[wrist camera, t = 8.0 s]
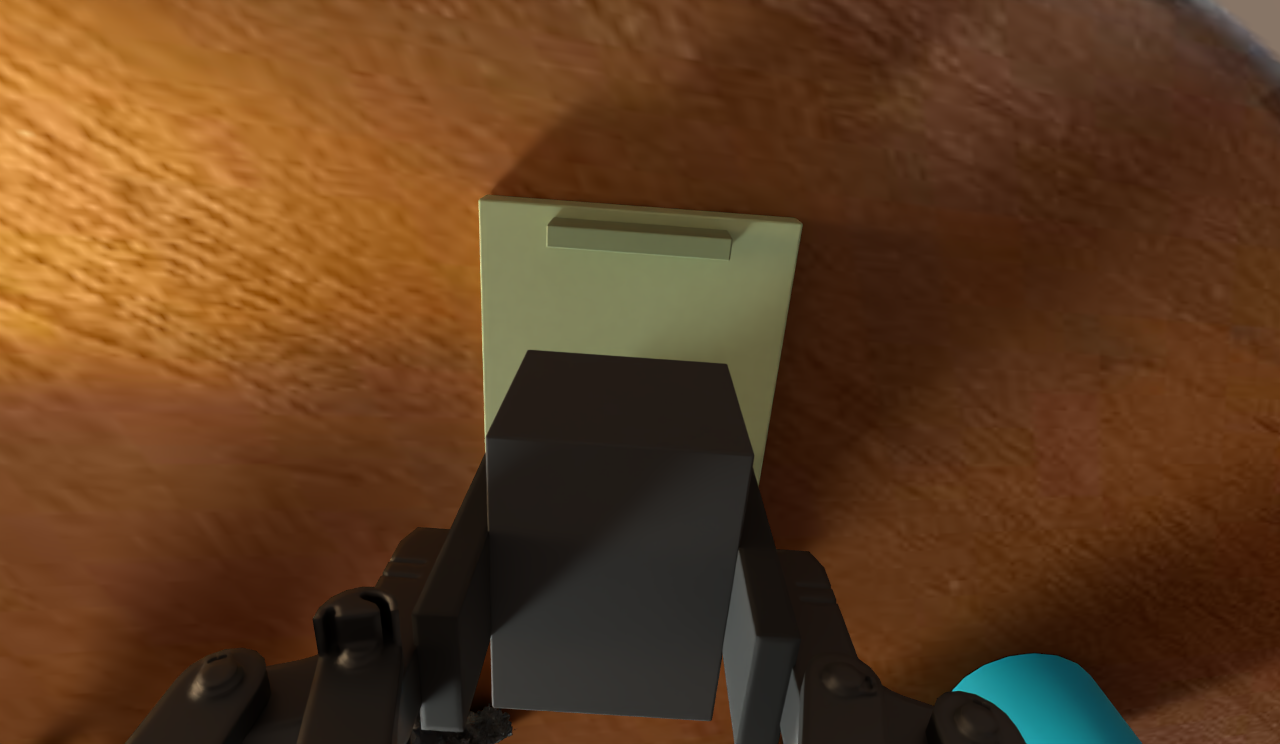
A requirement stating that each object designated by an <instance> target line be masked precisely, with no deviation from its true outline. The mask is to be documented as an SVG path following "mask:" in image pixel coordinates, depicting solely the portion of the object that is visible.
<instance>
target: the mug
mask: <svg viewBox="0 0 1280 744" xmlns="http://www.w3.org/2000/svg"><path fill="white" fill-rule="evenodd" d="M952 691H963V692H968V693H972V694H976V695H978V696H980V697H982V698H984V699H986V700H988V701H990V702H992V703H993V704H995V705H996V706H997V707H998V708H1000V709H1001V710H1002V711H1003V712H1005V713H1006V714H1007V715H1008V716H1009V718H1010V719H1011V720H1012V722H1013V723H1014V724H1015V725H1016V727H1017V728H1018V730H1019V732H1020V733H1021V735H1022V737H1023V739H1024V740H1025V742H1026V744H1142V742H1141V741H1140V740H1139V739H1138V737H1137V736H1136V735H1135V733H1134V732H1133V731H1132V729H1131V728H1130V727H1129V725H1128V724H1127V723H1126V721H1125V720H1124V719H1123V717H1122V716H1121V715H1120V714H1119V712H1118V711H1117V710H1116V708H1115V707H1114V706H1113V704H1112V703H1111V702H1110V700H1109V699H1108V698H1107V696H1106V695H1105V694H1104V692H1103V691H1102V690H1101V689H1100V687H1099V686H1098V685H1097V683H1096V682H1095V681H1094V679H1093V678H1092V677H1091V676H1090V675H1089V674H1088V673H1087V672H1086V671H1085V670H1084V669H1083V668H1082V667H1081V666H1080V665H1078V664H1077V663H1075V662H1072V661H1070V660H1067V659H1065V658H1062V657H1060V656H1056V655H1046V654H1036V653H1032V654H1024V655H1016V656H1008V657H1005V658H1003V659H1000V660H997V661H994V662H991V663H989V664H986V665H983V666H982V667H980V668H979V669H977V670H976V671H974V672H973V673H971V674H969V675H968V676H966V677H965V678H963V680H962V681H961V682H960V683H959V684H958V685H957V686H956V687H955V688H954V689H953V690H952Z"/></svg>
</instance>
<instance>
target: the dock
mask: <svg viewBox="0 0 1280 744" xmlns="http://www.w3.org/2000/svg"><path fill="white" fill-rule="evenodd" d="M802 226H803V224H802V223H801V222H800V221H799V220H798V219H796V218H791V217H778V216H764V215H751V214H738V213H724V212H711V211H698V210H684V209H671V208H658V207H644V206H631V205H618V204H604V203H591V202H578V201H564V200H551V199H538V198H524V197H511V196H498V195H486V196H484V197H482V198H481V199H479V233H480V270H481V308H482V346H483V383H484V421H485V437H486V435H487V433H488V431H489V429H490V426H491V424H492V422H493V420H494V418H495V416H496V414H497V412H498V410H499V408H500V406H501V404H502V402H503V400H504V398H505V395H506V393H507V391H508V389H509V387H510V385H511V383H512V381H513V379H514V377H515V375H516V373H517V371H518V369H519V367H520V365H521V362H522V360H523V358H524V356H525V354H526V352H527V350H541V351H555V352H569V353H583V354H597V355H611V356H625V357H639V358H654V359H668V360H682V361H696V362H710V363H724V364H727V365H728V368H729V371H730V375H731V378H732V381H733V385H734V388H735V391H736V395H737V398H738V402H739V405H740V408H741V412H742V415H743V418H744V422H745V425H746V428H747V432H748V435H749V439H750V442H751V445H752V449H753V452H754V455H755V456H754V462H753V469H754V473H755V476H756V480H757V483H758V487H759V481H760V475H761V469H762V463H763V457H764V451H765V445H766V440H767V434H768V428H769V422H770V416H771V410H772V404H773V398H774V392H775V386H776V380H777V374H778V368H779V363H780V357H781V351H782V345H783V339H784V333H785V327H786V321H787V315H788V309H789V303H790V297H791V291H792V285H793V280H794V274H795V268H796V262H797V256H798V250H799V244H800V238H801V232H802ZM485 453H486V442H485Z"/></svg>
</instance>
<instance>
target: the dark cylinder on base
mask: <svg viewBox="0 0 1280 744" xmlns="http://www.w3.org/2000/svg"><path fill="white" fill-rule="evenodd" d="M474 716H475V717H474ZM476 716H477V717H476ZM509 717H510V715H509V714H508V713H507V712H506V713H504V714H503V713H502V711H501V708H499V709H498V710H497V709H496V708H493V707H492V708H491V707H490V703H489V706H488V707H487V706H485V707H484V709H483V711H478V712H477V713H474V714H473V712H471V711H469V714H468V718H467V721H466V724H465V727H464V731H463V732H449V731H433V730H421V720H420V711H419V713H418V716H417V719H416V721H415V724H414V727H413V729H412V732H411V743H412V744H495V743H498V742H500V740H501V741H502V740H503V739H504V738H507V736H508V737H509V736H511V735H513V734H511V733H512V728H513V727H511V722H510V721H508V720H509ZM469 719H471V720H469ZM470 721H471V722H470ZM472 721H474V722H472ZM471 723H472V724H473V723H474V724H473V725H472V724H471ZM470 724H471V725H470ZM514 730H516V729H514Z"/></svg>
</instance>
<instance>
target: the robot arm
mask: <svg viewBox="0 0 1280 744" xmlns="http://www.w3.org/2000/svg"><path fill="white" fill-rule="evenodd" d="M313 625H314V631H315V637H316V643H317V649H318V654H317V655H315V656H313V657H309V658H305V659H302V660H297V661H292V662H287V663H282V664H276V665H271V666H266V664H265V659H264V658H263V657H262V656H261V655H260V654H259V653H258V652H257V651H255V650H250V649H246V648H234V649H225V650H222V651H219V652H216V653H213V654H210V655H207V656H205V657H204V658H202V659H200V660H199V661H197V662H195V663H193V664H192V665H190V666H189V667H188V668H187V669H186V670H185V671H184V672H183V673H182V674H181V675H180V676H179V677H178V678H177V679H176V680H175V681H174V682H173V684H172V685H171V686H170V687H169V689H168V690H167V691H166V692H165V694H164V695H163V696H162V697H161V699H160V700H159V701H158V702H157V704H156V705H155V706H154V707H153V709H152V710H151V711H150V713H149V714H148V715H147V716H146V718H145V719H144V720H143V721H142V723H141V724H140V725H139V726H138V728H137V729H136V730H135V731H134V733H133V734H132V735H131V736H130V738H129V739H128V740H127V741H126V743H125V744H412V743H411V732H412V729H413V727H414V724H415V721H416V719H417V716H418V713H419V711H420V720H421V730H433V731H449V732H463V731H464V727H465V724H466V721H467V717H468V714H469V710H470V707H471V703H472V700H473V697H474V693H475V690H476V686H477V683H478V680H479V676H480V673H481V669H482V666H483V662H484V659H485V656H486V652H487V649H488V645H489V642H490V638H491V602H490V561H489V531H488V522H487V482H486V453H485V455H484V457H483V459H482V461H481V463H480V466H479V468H478V470H477V472H476V474H475V476H474V479H473V481H472V483H471V485H470V487H469V490H468V492H467V494H466V496H465V498H464V500H463V503H462V505H461V507H460V509H459V511H458V513H457V516H456V518H455V520H454V522H453V524H452V527H451V529H437V528H422V527H418V528H416V529H415V530H414V531H413V532H411V533H410V534H409V535H408V536H406V537H405V538H404V539H403V540H401V541H400V543H399V544H398V546H397V548H396V550H395V552H394V553H393V555H392V557H391V560H390V562H388V564H387V566H386V568H385V569H384V571H383V575H382V576H381V577H380V578H379V580H378V582H377V584H376V586H375V587H359V588H354V589H350V590H346V591H344V592H342V593H340V594H337V595H335V596H333V597H331V598H330V599H329V600H328V601H326V602H325V603H324V604H323V605H322V606H321V607H319V609H318V611H317V612H316V614H315V616H314V618H313ZM722 652H723V660H724V667H725V675H726V682H727V690H728V698H729V705H730V713H731V720H732V728H733V735H734V743H735V744H778V742H779V737H780V733H781V734H782V739H783V743H784V744H1026V742H1025V740H1024V739H1023V737H1022V735H1021V733H1020V732H1019V730H1018V728H1017V727H1016V725H1015V724H1014V723H1013V722H1012V720H1011V719H1010V718H1009V716H1008V715H1007V714H1006V713H1005V712H1003V711H1002V710H1001V709H1000V708H998V707H997V706H996V705H995V704H993V703H992V702H990V701H988V700H986V699H984V698H982V697H980V696H978V695H976V694H972V693H968V692H963V691H951V692H946V693H944V694H943V695H941V696H940V697H938V698H937V700H936V703H935V706H932V705H929V704H926V703H923V702H920V701H917V700H914V699H911V698H908V697H905V696H903V695H900V694H898V693H895V692H893V691H891V690H889V689H888V688H886V687H884V686H883V685H882V684H881V681H880V679H879V678H878V676H877V675H876V674H875V673H874V671H873V670H872V669H871V668H870V667H869V666H868V665H866V664H865V663H863V662H862V661H861V660H859V659H858V657H857V654H856V652H855V649H854V646H853V644H852V641H851V638H850V635H849V633H848V630H847V627H846V625H845V622H844V619H843V617H842V614H841V611H840V609H839V606H838V604H836V598H835V595H834V593H833V590H832V589H831V585H830V582H829V579H828V577H827V574H826V571H825V569H824V567H823V566H822V565H821V564H820V563H819V562H818V560H817V559H816V558H815V557H814V556H813V555H812V554H811V553H810V552H809V551H795V550H780V549H776V547H775V544H774V540H773V536H772V533H771V529H770V526H769V522H768V519H767V515H766V512H765V508H764V505H763V501H762V497H761V494H760V490H759V487H758V483H757V480H756V476H755V473H754V469H752V475H751V481H750V487H749V493H748V499H747V506H746V512H745V518H744V524H743V530H742V537H741V543H740V547H739V549H738V555H737V561H736V568H735V574H734V580H733V586H732V592H731V599H730V605H729V611H728V617H727V624H726V630H725V636H724V642H723V649H722Z"/></svg>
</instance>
